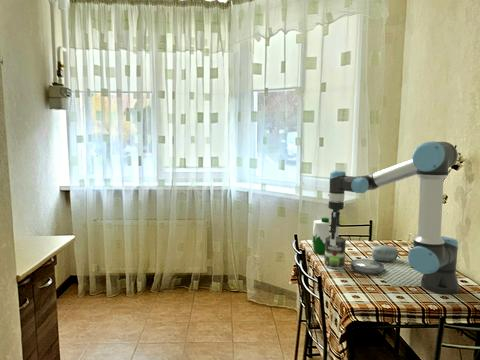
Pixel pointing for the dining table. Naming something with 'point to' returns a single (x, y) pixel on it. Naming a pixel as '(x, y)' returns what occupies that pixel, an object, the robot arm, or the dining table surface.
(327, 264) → the coffee can
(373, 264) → the plate
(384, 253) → the gray rounded cylinder
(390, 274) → the dining table surface
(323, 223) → the milk carton
